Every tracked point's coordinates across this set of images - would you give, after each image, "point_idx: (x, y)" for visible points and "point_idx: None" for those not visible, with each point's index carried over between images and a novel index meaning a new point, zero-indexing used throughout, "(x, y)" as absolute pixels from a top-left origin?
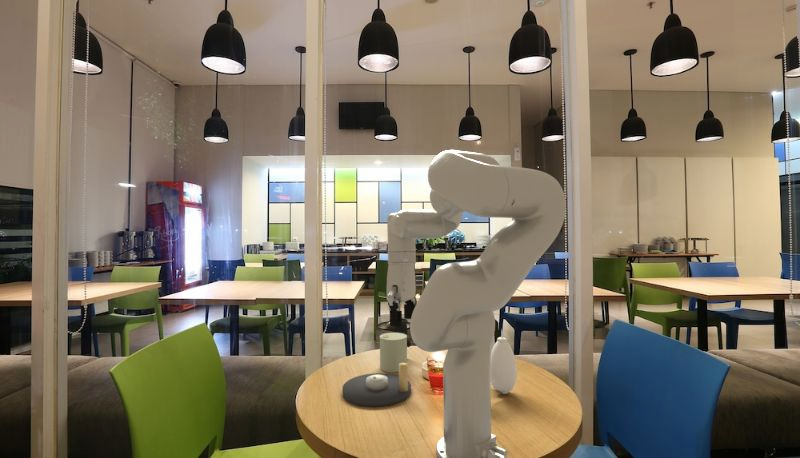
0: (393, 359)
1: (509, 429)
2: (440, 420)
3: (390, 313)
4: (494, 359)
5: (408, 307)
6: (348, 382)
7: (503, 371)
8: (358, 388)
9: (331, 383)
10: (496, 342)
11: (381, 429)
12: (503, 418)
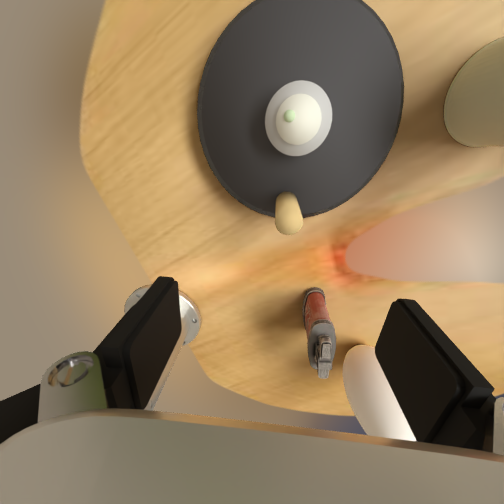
0: (485, 109)
1: (240, 352)
2: (231, 275)
3: (118, 331)
4: (363, 402)
5: (427, 393)
6: (300, 1)
7: (346, 392)
8: (264, 70)
9: None
10: None
11: (164, 193)
12: (268, 347)
